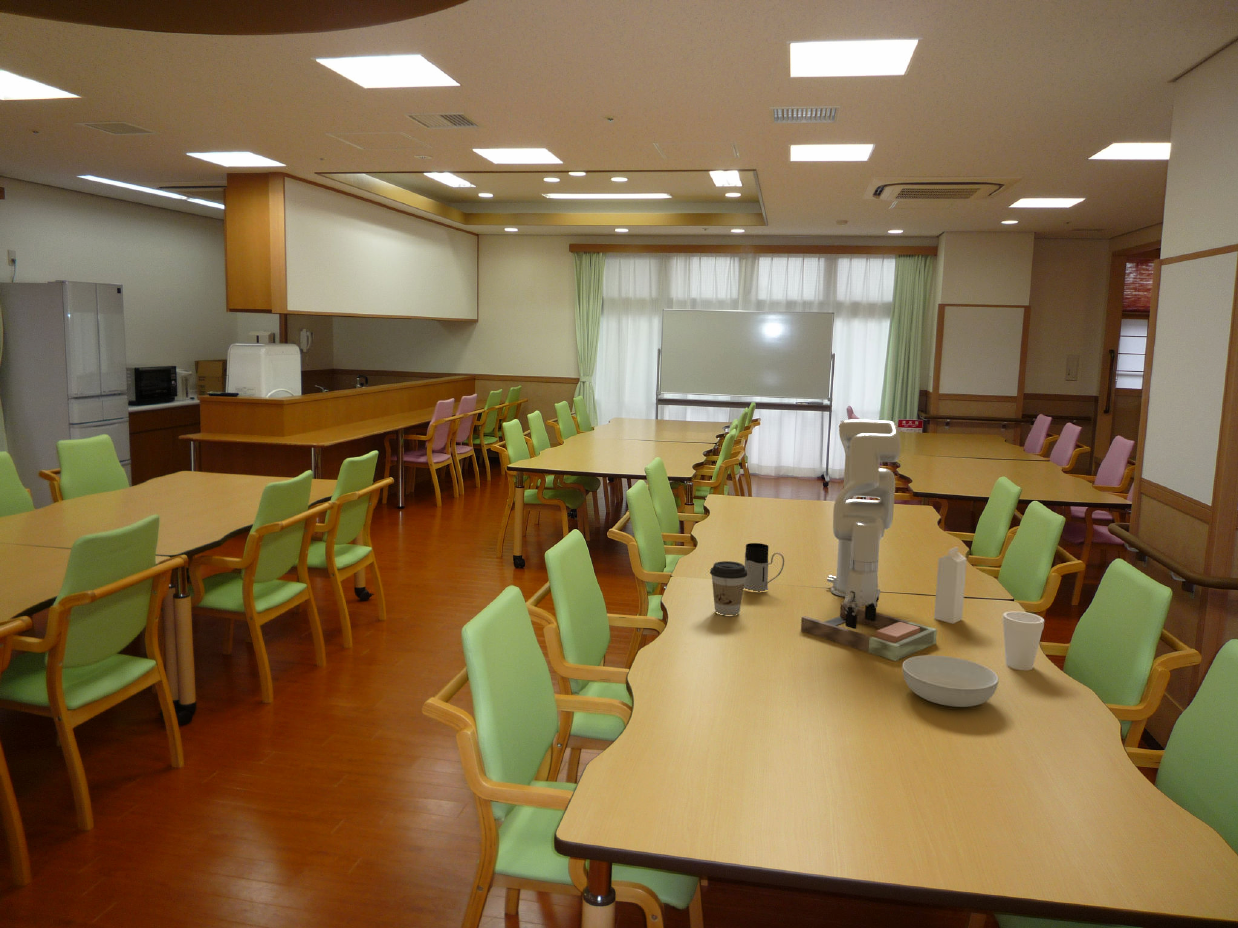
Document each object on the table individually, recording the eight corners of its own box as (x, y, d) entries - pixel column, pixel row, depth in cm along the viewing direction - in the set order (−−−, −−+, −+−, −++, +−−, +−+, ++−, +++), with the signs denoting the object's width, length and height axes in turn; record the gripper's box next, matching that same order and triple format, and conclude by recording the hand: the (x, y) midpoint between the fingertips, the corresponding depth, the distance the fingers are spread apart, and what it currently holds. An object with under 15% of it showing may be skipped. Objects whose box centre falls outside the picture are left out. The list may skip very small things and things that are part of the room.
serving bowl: (1009, 698, 193) (1011, 670, 192) (976, 727, 178) (978, 697, 177) (922, 673, 207) (924, 647, 206) (885, 698, 192) (886, 670, 191)
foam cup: (1039, 662, 216) (1043, 614, 214) (1040, 675, 207) (1045, 625, 206) (999, 656, 220) (1003, 609, 218) (998, 668, 211) (1003, 619, 210)
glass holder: (749, 583, 283) (751, 541, 281) (788, 591, 275) (790, 547, 273) (737, 589, 276) (739, 546, 274) (776, 597, 268) (778, 552, 266)
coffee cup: (704, 615, 249) (705, 567, 247) (714, 605, 260) (715, 558, 257) (741, 620, 245) (742, 571, 243) (749, 609, 255) (751, 562, 253)
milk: (962, 619, 249) (968, 548, 246) (952, 624, 245) (959, 551, 242) (942, 614, 254) (948, 544, 251) (933, 618, 250) (939, 547, 247)
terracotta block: (875, 648, 225) (876, 630, 224) (898, 638, 233) (900, 621, 232) (895, 654, 220) (896, 636, 220) (918, 644, 228) (919, 627, 228)
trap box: (800, 630, 237) (801, 617, 237) (842, 615, 251) (843, 603, 251) (895, 661, 215) (896, 646, 215) (935, 643, 229) (936, 629, 228)
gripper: (869, 557, 241) (865, 614, 243) (835, 567, 229) (831, 626, 232) (892, 563, 235) (888, 620, 238) (858, 573, 224) (855, 634, 226)
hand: (860, 623), depth 235 cm, fingers open, 9 cm apart
